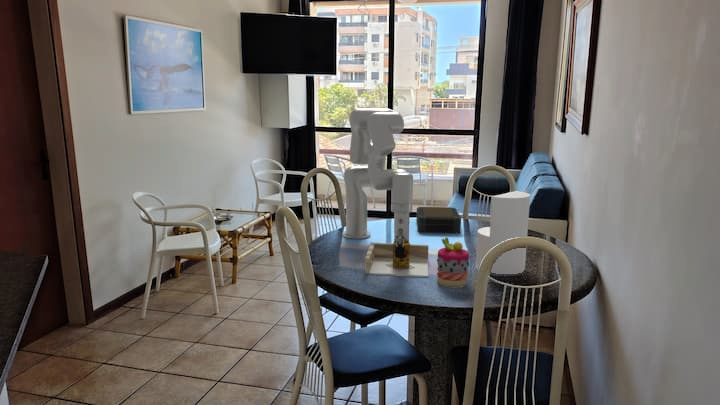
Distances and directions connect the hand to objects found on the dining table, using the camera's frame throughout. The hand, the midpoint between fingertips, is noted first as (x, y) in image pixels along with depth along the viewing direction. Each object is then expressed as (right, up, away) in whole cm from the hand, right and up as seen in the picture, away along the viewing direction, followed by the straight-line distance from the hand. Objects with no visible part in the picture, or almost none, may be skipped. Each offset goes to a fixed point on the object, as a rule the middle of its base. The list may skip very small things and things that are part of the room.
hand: (400, 253), depth 186 cm
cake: (+16, -9, -13) cm, 23 cm away
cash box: (+23, +6, +64) cm, 69 cm away
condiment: (0, -5, +2) cm, 5 cm away
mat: (-1, -5, +3) cm, 6 cm away
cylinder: (+36, -6, +1) cm, 37 cm away
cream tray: (-1, -5, +3) cm, 6 cm away
